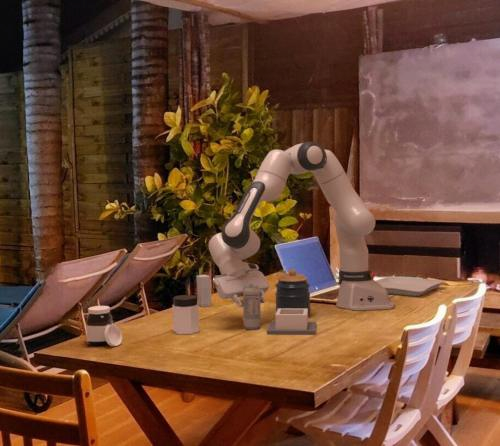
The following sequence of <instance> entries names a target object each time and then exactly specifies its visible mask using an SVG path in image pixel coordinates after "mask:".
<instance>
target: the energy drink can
mask: <svg viewBox="0 0 500 446" xmlns="http://www.w3.org/2000/svg"><path fill="white" fill-rule="evenodd" d="M242 301H243V303H244V306H243V307H242V320H243V327H244V329H245V330H249V331H251V330H253V331H254V330H258V329H260V327H261V325H262V319H261V313H262V312H261V311H262V310H261V303H260V289H259V287H258V285H257V284H246V285H244V289H243V296H242Z"/></svg>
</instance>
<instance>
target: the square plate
mask: <svg viewBox="0 0 500 446" xmlns="http://www.w3.org/2000/svg"><path fill="white" fill-rule="evenodd" d="M375 281H376V282H377V283H379V284H380V285H381V286H383V287H384V288H385V289H386V291H387V293H388V295H395V296H396V295H397V296H405V297H406V296H407V297H418V296H421V295H423V294H426V293H428V292H430V291H432V290H434V289H437V288H439V287H440V286H442V285H443V283H445V281H444V280H437V279H429V278H419V277H406V276H405V277H404V276H386V277H382V278H379V279H377V280H375Z"/></svg>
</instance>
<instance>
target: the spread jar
mask: <svg viewBox="0 0 500 446" xmlns="http://www.w3.org/2000/svg"><path fill="white" fill-rule="evenodd" d="M110 310H111V307H110V306H109V305H95V306H90V307H88V308H87V311H88V314H87V317H86V325H85V326H86V340H87V343H88V345H90V346H93V347H102V346H103V347H104V346H107V345H109V346H110V347H117V346H120V345H121V344H122V342H123V333H122V330H121V328H120V327H119V326H118V325H116V324H113V316H112V314H111V311H110Z"/></svg>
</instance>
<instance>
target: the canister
mask: <svg viewBox="0 0 500 446" xmlns="http://www.w3.org/2000/svg"><path fill="white" fill-rule="evenodd" d="M276 279H277V282H276V283H275V285H274V286H275V288H276V289H275V290H276V292H275V294H274V295H275V313H276V312H277V310H278V308H293V309H308V318H309V317H310V316H311V299H310V298H311V292H310V289H309V288H310V286H311V284H310V283H309V282H308V279H309V278H308V277H307V276H305V275H304V274H303V273H297V271H296V269H294V268H291V269H289V270H288V273H283V274H281V275H280V276H279V277H277V278H276Z"/></svg>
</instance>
